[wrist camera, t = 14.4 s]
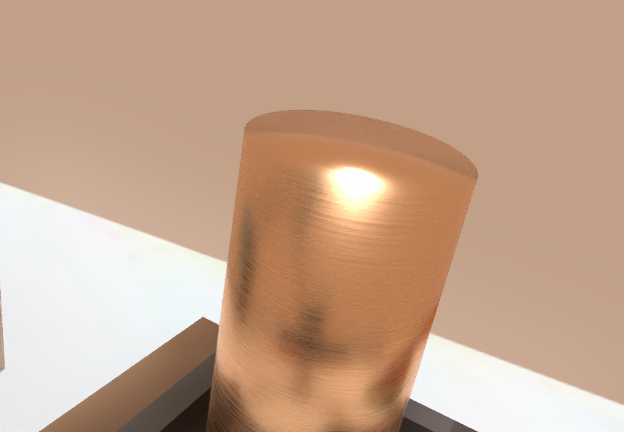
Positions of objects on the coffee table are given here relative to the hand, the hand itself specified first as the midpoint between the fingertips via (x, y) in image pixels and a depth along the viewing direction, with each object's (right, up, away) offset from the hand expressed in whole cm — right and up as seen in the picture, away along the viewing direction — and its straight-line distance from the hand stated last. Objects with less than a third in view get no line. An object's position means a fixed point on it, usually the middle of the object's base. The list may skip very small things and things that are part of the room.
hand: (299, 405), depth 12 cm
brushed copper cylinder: (-1, -5, +8) cm, 9 cm away
